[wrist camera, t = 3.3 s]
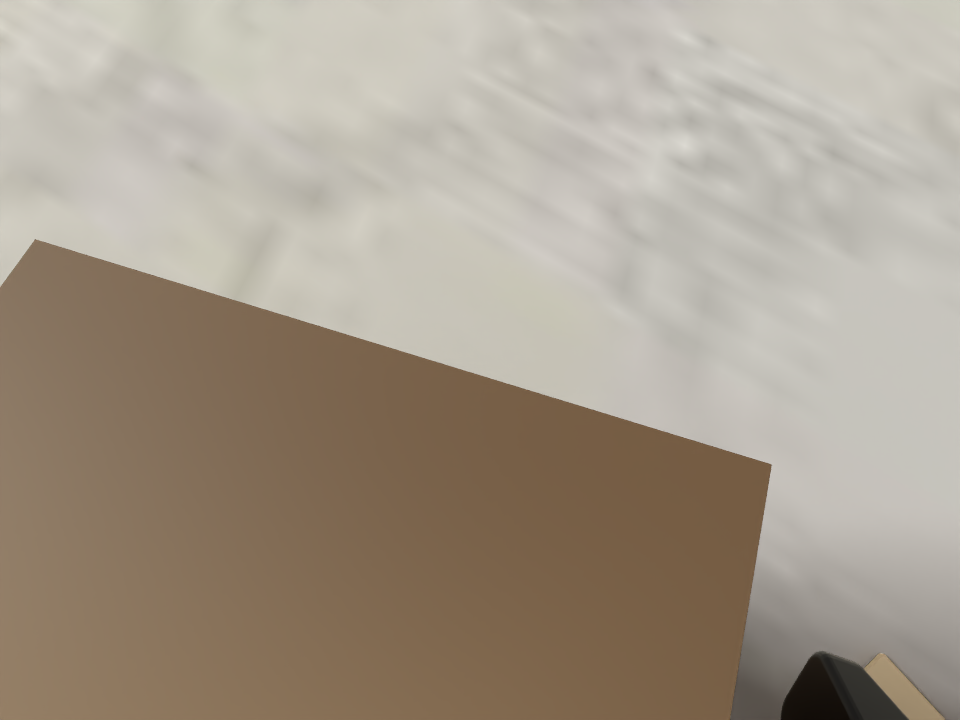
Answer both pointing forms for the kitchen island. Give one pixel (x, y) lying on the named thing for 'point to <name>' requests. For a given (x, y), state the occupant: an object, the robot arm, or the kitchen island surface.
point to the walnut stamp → (338, 526)
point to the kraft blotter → (901, 690)
